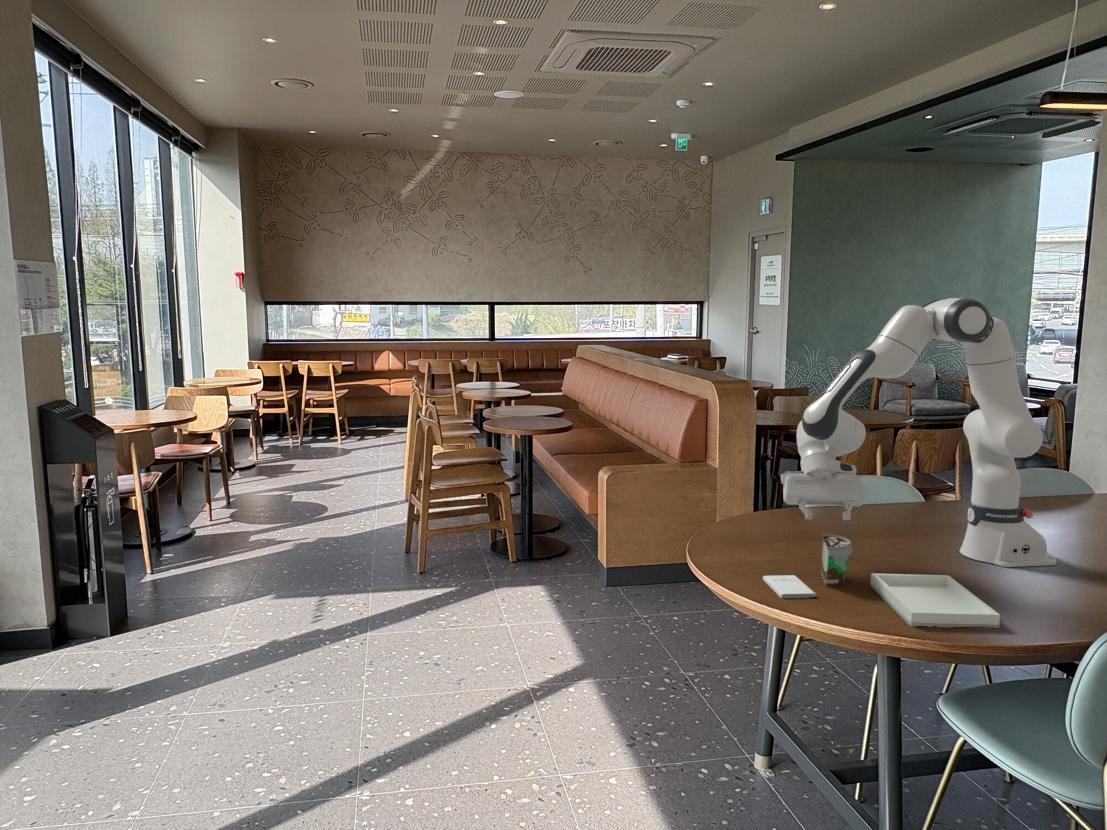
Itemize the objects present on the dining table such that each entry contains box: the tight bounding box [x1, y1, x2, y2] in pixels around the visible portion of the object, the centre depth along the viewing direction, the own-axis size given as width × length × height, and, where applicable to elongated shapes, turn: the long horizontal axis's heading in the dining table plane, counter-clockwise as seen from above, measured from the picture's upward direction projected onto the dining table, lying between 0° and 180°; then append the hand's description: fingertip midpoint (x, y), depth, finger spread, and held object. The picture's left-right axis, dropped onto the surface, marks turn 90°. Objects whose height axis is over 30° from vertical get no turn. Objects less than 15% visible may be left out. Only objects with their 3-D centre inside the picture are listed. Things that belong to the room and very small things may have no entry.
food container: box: [820, 532, 853, 587], centre depth 193 cm, size 12×6×10 cm, turn 168°
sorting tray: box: [870, 572, 1001, 629], centre depth 178 cm, size 18×24×3 cm
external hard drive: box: [762, 574, 817, 599], centre depth 188 cm, size 2×8×12 cm
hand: (828, 518), depth 200 cm, fingers open, 8 cm apart
